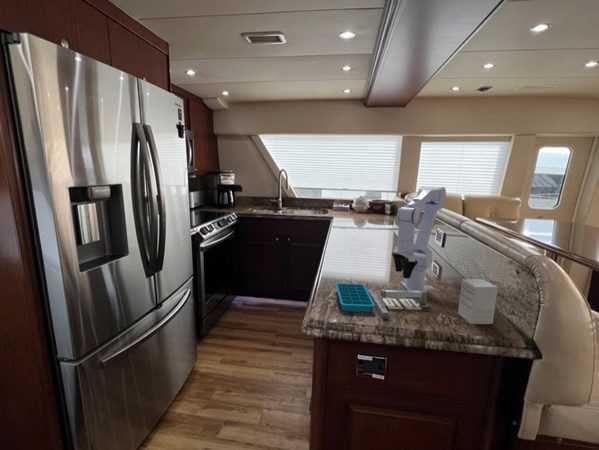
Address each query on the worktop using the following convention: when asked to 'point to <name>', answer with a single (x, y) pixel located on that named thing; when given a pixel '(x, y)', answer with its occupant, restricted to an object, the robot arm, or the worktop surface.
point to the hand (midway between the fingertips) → (402, 274)
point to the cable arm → (406, 294)
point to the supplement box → (477, 301)
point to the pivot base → (422, 305)
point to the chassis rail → (378, 304)
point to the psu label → (392, 303)
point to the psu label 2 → (410, 304)
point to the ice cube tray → (354, 297)
